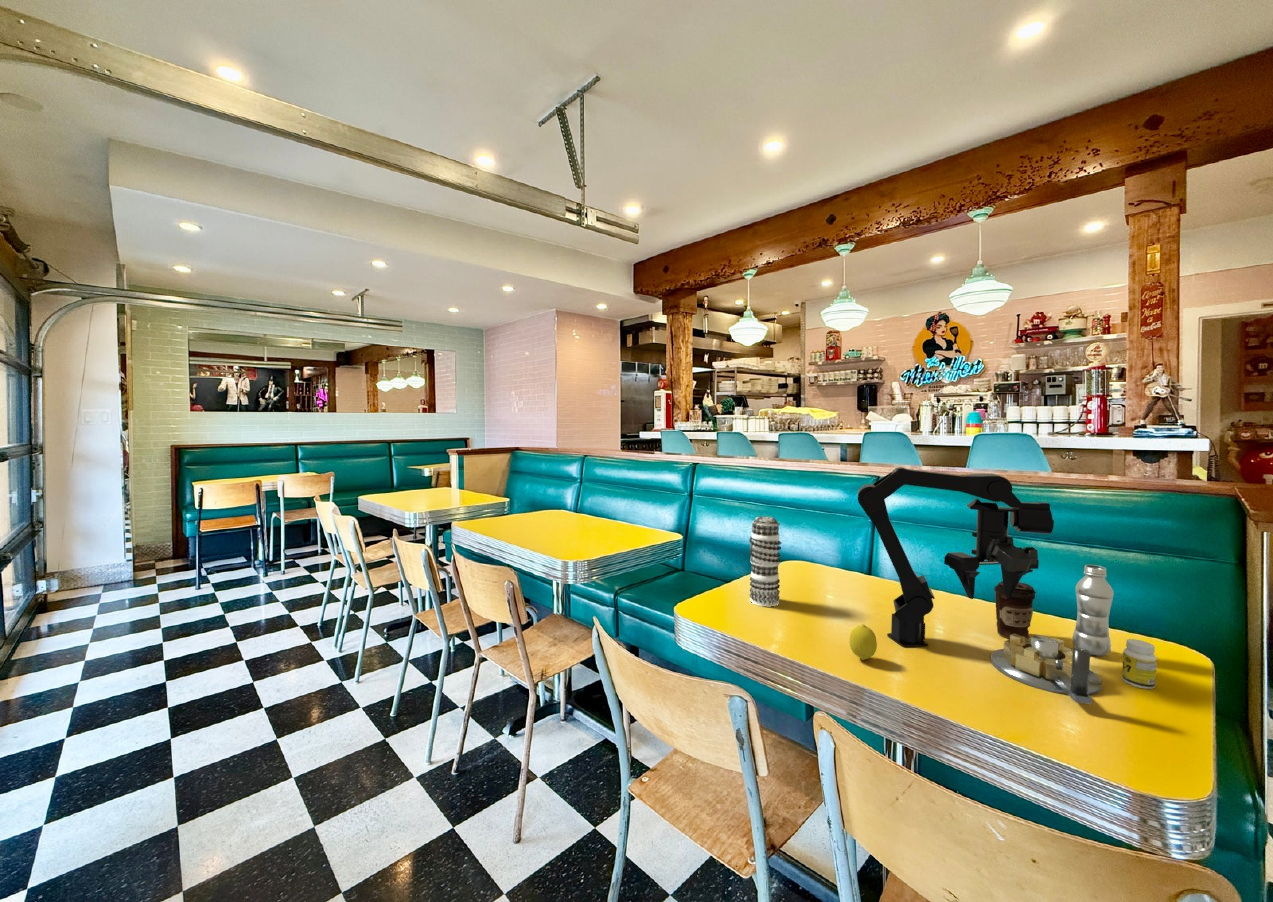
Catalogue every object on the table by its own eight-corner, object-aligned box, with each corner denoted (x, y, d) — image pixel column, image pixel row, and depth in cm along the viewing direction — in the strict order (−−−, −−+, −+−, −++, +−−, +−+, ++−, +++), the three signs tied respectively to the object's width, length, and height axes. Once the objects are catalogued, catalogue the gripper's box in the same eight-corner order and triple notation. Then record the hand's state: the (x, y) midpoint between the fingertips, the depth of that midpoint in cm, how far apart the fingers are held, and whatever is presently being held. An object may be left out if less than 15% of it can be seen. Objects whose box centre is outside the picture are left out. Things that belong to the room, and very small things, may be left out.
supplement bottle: (1118, 675, 103) (1120, 635, 102) (1149, 681, 101) (1152, 640, 100) (1126, 685, 99) (1128, 644, 98) (1159, 692, 96) (1161, 650, 96)
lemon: (874, 668, 106) (875, 631, 105) (847, 661, 109) (848, 626, 108) (877, 657, 111) (878, 623, 110) (851, 651, 113) (852, 617, 113)
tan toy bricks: (995, 647, 112) (997, 606, 112) (1065, 656, 108) (1067, 613, 108) (1040, 698, 91) (1042, 648, 91) (1128, 711, 87) (1131, 659, 87)
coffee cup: (1043, 645, 117) (1045, 591, 116) (1003, 642, 118) (1005, 589, 118) (1022, 630, 125) (1024, 580, 125) (985, 627, 127) (987, 578, 126)
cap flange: (1043, 697, 94) (1045, 662, 94) (970, 654, 112) (972, 624, 112) (1127, 692, 96) (1129, 657, 96) (1043, 650, 114) (1044, 621, 114)
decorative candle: (744, 603, 144) (745, 518, 143) (754, 594, 152) (755, 514, 151) (775, 609, 139) (776, 522, 138) (784, 599, 147) (785, 517, 146)
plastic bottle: (1100, 648, 115) (1104, 564, 114) (1117, 661, 109) (1122, 572, 108) (1066, 644, 117) (1070, 561, 116) (1081, 657, 111) (1085, 569, 110)
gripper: (982, 539, 102) (979, 612, 103) (1063, 537, 104) (1060, 609, 105) (943, 527, 113) (941, 594, 114) (1018, 526, 115) (1015, 591, 116)
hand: (989, 597), depth 112 cm, fingers open, 9 cm apart
